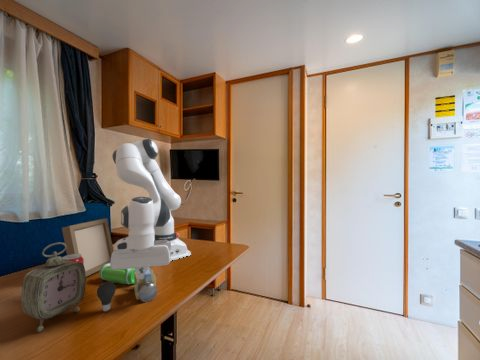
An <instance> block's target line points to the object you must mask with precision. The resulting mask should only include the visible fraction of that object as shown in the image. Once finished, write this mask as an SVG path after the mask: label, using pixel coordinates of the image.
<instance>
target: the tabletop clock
mask: <svg viewBox="0 0 480 360" xmlns="http://www.w3.org/2000/svg"><path fill="white" fill-rule="evenodd" d="M57 245H62V246H64V249H63V250H60V252H57V251H52V254H45V251H46V250H47V249H49V248H50V247H54V246H57ZM64 252H66V244H65V242H60V241H59V242H54V243H51V244H48V245H47V246H45V247H44V248H43V250H42V252H41V254H42V256H43V257H45V258H48V259H47V260H46V262H45V263H44V265H41V266H39V267H37V268H34V269H31V270H30V271H29V272H27V273H26V274H24V277H23V281H22V284H21V291H20V292H21V295H20V299H21V307H22V311H23V313H24V314H25V315H26V316H29V317H32V318H35V319H37V320H39V326H38V327H36V329H35V330H36V332H37V333H41V332H42V331H43V330H44V325H43V322H44V320H47V319H48V320H49V319H50V320H51V319H52V318H53V317H55V316H57V315H59V314H61V313H64V312H66V311H67V310H69V309H71V308H73V312H74V313H78V312H79V311H80V306H76V305H77V304H78V303H80V302H81V301H82V300H83V298H84V296H85V293H86V282H87V277H86V275H85V268H84V265H83V263H78V262H72V261H65V260H64V259H63V258H62V257H63V256H60V255H61V254H63V253H64Z"/></svg>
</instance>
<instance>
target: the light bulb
mask: <svg viewBox="0 0 480 360" xmlns="http://www.w3.org/2000/svg"><path fill="white" fill-rule="evenodd" d="M116 289H117V287H116V285H115V283H114V282H110V281H105V282H102V283H101V284H100V285H99V286H98V287H97V290H96V296H97V298H98V299H99V301H100V302H101V303H100V304H101V305H102V306H101V308H102V311H103V312H108V311H109V310H111V306H112V305H111V304H112V300H113V298H114V295H115V293H116Z"/></svg>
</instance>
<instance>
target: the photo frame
mask: <svg viewBox="0 0 480 360" xmlns="http://www.w3.org/2000/svg"><path fill="white" fill-rule="evenodd" d="M109 226H110V225H109V221H108V218H107V217H106V218H101V219H95V220H90V221H87V222H81V223H76V224H73V225H67V226H65V227H61V230H62V231H61V232H62V237H63V239H64V242H63V243H64V244H66V250H65V252H66V256H67V255H71V254H81V255H82V257H83V258H84V268H85V275H86V278H87V277H88V276H91V275H93V274H94V273H95V274H96V273H97V272H100V269H101V268H102V266H103V265H105V264H109V263H110V260H111V255H112V253H113V251H114V245H113V241H112V237H111V232H110V227H109Z"/></svg>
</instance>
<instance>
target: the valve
mask: <svg viewBox="0 0 480 360" xmlns="http://www.w3.org/2000/svg"><path fill="white" fill-rule="evenodd" d="M150 274H151V276H152V280H150V281H145V279H139V280H138V275H137V274H136V272H134V284H133V285H134V287H133V288H134V292H133V293H134V295H135V298H136V301H137V300H140V301H141V302H143V303H148V302H151V301H153V300H154V299H155V297H156V296H157V294H158V288H157V274H156V272H155V270H154V269H153V268H150Z"/></svg>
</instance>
